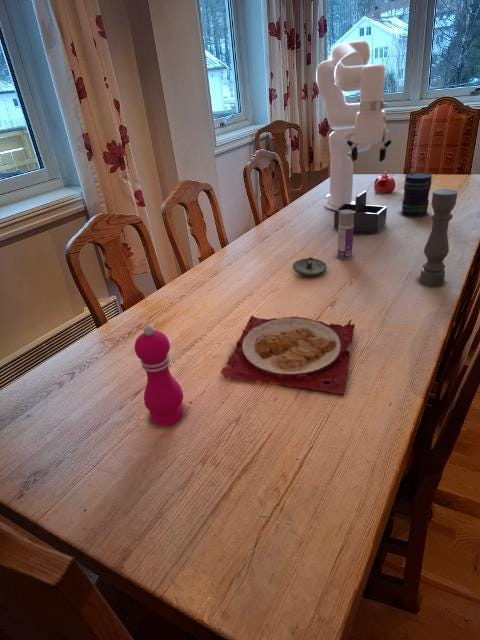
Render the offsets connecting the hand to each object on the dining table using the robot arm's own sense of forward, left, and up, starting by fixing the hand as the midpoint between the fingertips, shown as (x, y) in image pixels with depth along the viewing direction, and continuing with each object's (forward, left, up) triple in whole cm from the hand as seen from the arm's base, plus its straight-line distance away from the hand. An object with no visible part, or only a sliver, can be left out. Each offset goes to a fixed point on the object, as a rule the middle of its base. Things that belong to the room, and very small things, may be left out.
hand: (367, 160), depth 153 cm
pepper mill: (+43, -108, -24) cm, 119 cm away
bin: (0, -2, -24) cm, 24 cm away
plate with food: (+44, -77, -24) cm, 92 cm away
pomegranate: (-25, +45, -24) cm, 57 cm away
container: (+15, -27, -24) cm, 40 cm away
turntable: (0, -2, -24) cm, 24 cm away
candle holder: (+45, -25, -24) cm, 57 cm away
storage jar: (+5, +25, -24) cm, 35 cm away
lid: (+15, -43, -24) cm, 52 cm away
